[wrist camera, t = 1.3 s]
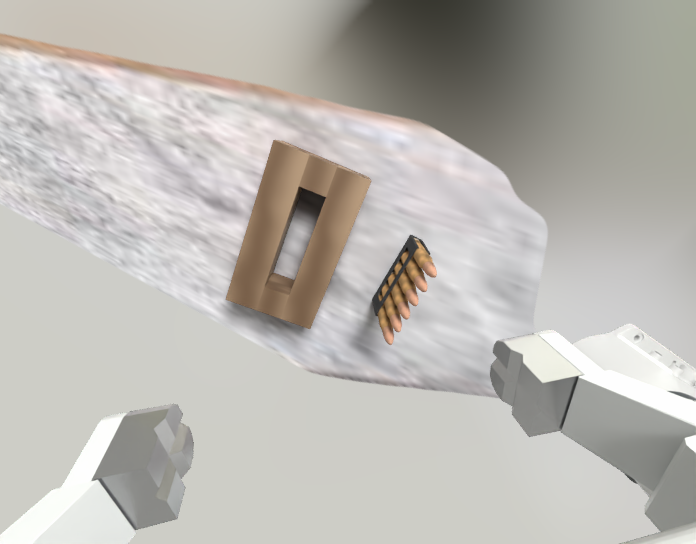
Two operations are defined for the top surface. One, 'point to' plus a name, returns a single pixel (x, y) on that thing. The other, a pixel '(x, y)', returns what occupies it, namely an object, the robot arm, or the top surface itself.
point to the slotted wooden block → (272, 225)
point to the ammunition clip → (402, 286)
